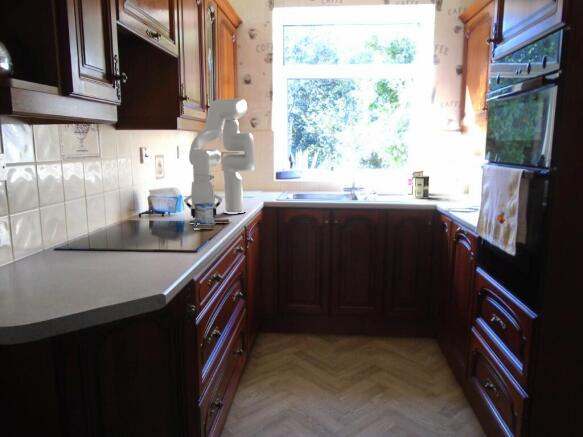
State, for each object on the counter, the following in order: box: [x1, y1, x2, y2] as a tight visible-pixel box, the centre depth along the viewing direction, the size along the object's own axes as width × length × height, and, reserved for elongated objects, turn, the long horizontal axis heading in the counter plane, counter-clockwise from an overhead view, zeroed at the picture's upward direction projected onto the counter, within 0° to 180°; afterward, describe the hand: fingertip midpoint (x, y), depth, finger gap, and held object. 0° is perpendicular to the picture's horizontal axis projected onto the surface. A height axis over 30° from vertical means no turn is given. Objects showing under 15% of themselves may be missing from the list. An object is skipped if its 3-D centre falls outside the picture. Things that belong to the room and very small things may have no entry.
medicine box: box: [194, 204, 214, 224], centre depth 200 cm, size 8×4×9 cm, turn 52°
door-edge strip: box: [189, 218, 230, 224], centre depth 209 cm, size 1×18×2 cm, turn 98°
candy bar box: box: [406, 169, 424, 195], centre depth 317 cm, size 11×5×16 cm, turn 126°
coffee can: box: [412, 175, 430, 199], centre depth 296 cm, size 10×10×14 cm
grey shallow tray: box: [192, 219, 216, 229], centre depth 201 cm, size 13×9×2 cm
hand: (204, 217), depth 201 cm, fingers closed on medicine box, 8 cm apart
